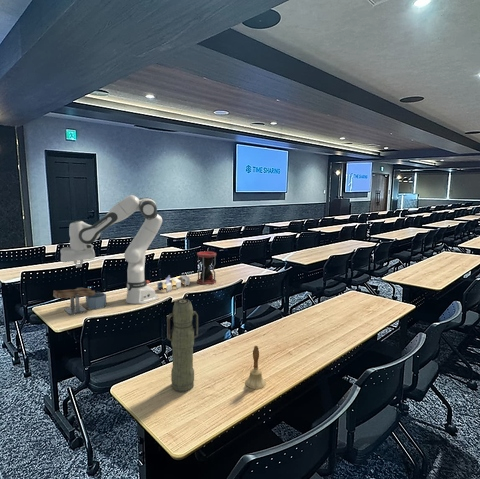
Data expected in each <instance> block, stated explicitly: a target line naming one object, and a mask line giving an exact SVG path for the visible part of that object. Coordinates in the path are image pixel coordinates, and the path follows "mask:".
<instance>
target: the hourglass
mask: <svg viewBox="0 0 480 479" xmlns="http://www.w3.org/2000/svg"><path fill="white" fill-rule="evenodd" d="M196 256H197V264H198V266H199V268H198V271H197V279H196V284H198V283H199V285H202V284H211V285H214V283H215V284H216V283H217V280H216V272H215V269H214V268H215V266H216V257H217V252H215V251H199V252H196ZM212 264H213V265H212ZM211 265H212V267H211ZM201 270H202V271H201Z"/></svg>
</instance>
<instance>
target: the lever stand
mask: <svg viewBox="0 0 480 479" xmlns="http://www.w3.org/2000/svg"><path fill="white" fill-rule="evenodd" d="M63 312H65V313H66V314H68V316H75V315H79V314H82V313H83V312H84V313H87V312H88V310H87V309H86V308H84V306H82V305H81V304H80V297H79V294H75V297H70V307H66V308H63ZM84 313H83V314H84ZM74 314H75V315H74Z"/></svg>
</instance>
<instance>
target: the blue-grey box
mask: <svg viewBox="0 0 480 479" xmlns="http://www.w3.org/2000/svg"><path fill="white" fill-rule="evenodd" d="M106 305H107V294H106V293H104V292H95V295H92V296H85V306H86V308H87V309H88V310H99V309H104V308H105V307H106Z"/></svg>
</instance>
